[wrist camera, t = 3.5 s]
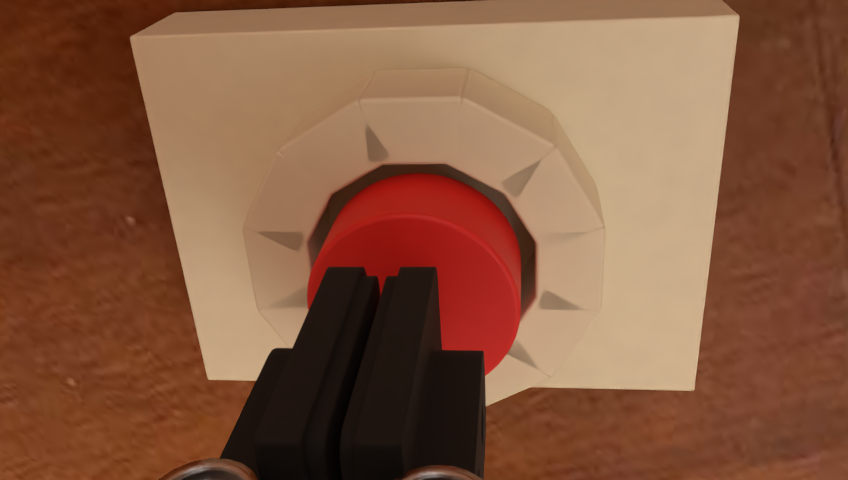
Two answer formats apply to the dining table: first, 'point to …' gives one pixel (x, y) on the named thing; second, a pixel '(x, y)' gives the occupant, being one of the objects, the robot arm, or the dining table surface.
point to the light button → (436, 254)
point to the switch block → (454, 163)
